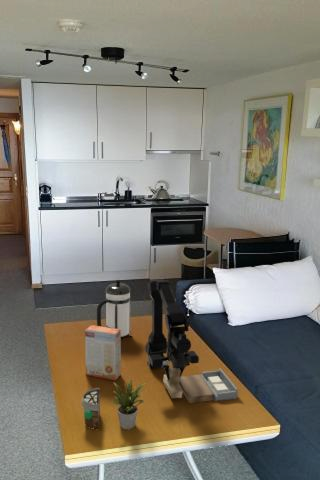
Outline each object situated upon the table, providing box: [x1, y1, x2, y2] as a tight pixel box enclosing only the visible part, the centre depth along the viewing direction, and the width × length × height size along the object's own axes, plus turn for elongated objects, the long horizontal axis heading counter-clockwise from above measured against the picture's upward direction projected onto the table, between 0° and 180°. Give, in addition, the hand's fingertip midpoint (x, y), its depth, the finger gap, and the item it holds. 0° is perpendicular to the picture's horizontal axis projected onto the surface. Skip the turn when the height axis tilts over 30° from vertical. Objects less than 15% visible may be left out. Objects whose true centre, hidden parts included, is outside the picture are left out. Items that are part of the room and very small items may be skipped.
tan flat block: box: [179, 374, 215, 404], centre depth 183 cm, size 10×16×2 cm, turn 15°
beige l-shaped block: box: [162, 366, 183, 399], centre depth 180 cm, size 4×13×9 cm, turn 14°
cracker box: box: [84, 324, 122, 381], centre depth 193 cm, size 14×6×21 cm, turn 71°
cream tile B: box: [208, 376, 222, 387], centre depth 189 cm, size 4×4×2 cm
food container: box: [80, 387, 101, 430], centre depth 161 cm, size 12×6×10 cm, turn 5°
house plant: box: [110, 378, 148, 430], centre depth 157 cm, size 14×14×16 cm
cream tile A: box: [213, 384, 228, 394], centre depth 183 cm, size 4×4×2 cm
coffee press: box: [96, 279, 133, 338], centre depth 232 cm, size 17×16×30 cm
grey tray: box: [199, 367, 239, 402], centre depth 186 cm, size 9×18×4 cm, turn 15°
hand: (173, 378), depth 180 cm, fingers closed on beige l-shaped block, 4 cm apart
